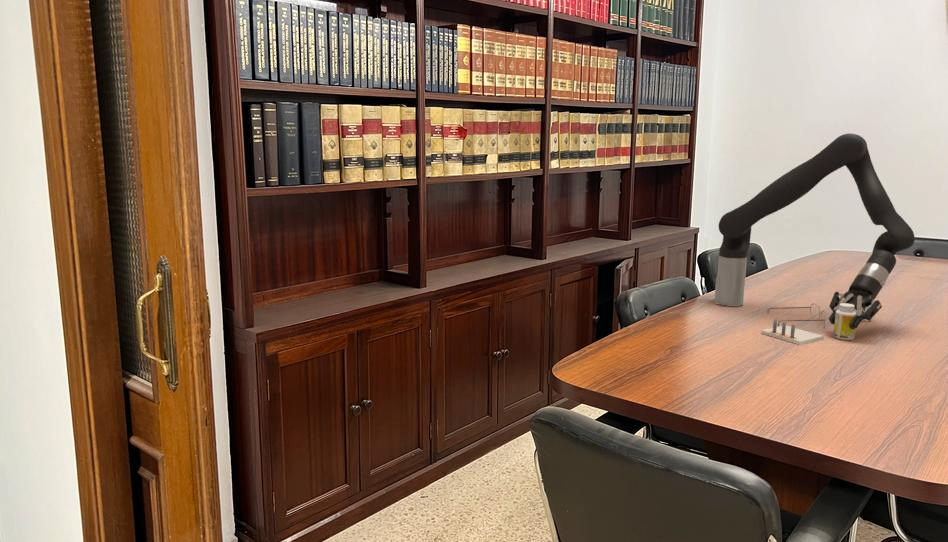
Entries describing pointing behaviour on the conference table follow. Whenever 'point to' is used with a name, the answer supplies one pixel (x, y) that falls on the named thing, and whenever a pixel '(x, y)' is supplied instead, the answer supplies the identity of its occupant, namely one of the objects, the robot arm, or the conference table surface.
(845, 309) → the supplement bottle
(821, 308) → the eyeglasses
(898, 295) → the conference table surface
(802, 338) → the header board
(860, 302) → the robot arm
